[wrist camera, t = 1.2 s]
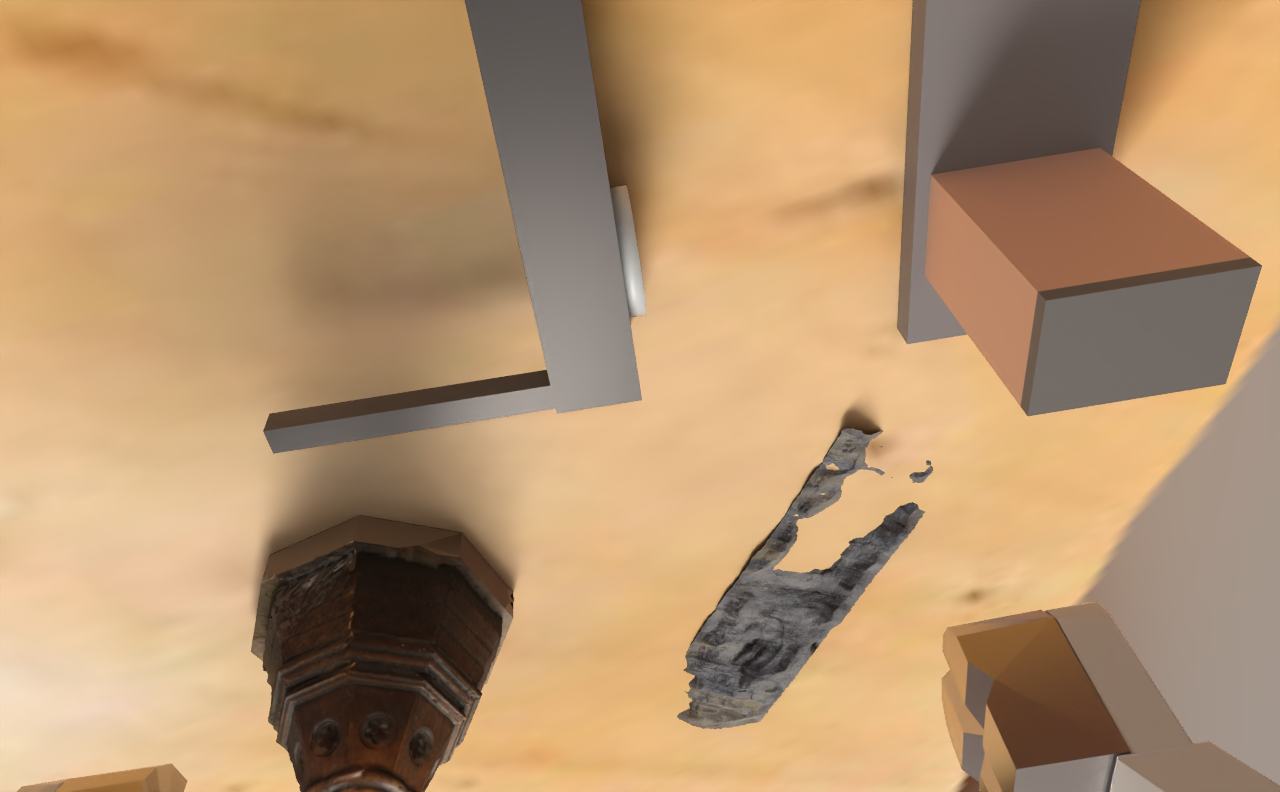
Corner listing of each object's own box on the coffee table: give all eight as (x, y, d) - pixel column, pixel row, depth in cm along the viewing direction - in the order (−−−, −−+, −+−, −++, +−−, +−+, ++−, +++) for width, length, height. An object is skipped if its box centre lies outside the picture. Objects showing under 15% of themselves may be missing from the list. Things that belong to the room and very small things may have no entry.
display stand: (897, 327, 38) (1000, 493, 29) (935, -477, 23) (1155, -584, 15) (1068, 300, 38) (1217, 457, 30) (1209, -518, 23) (1571, -646, 15)
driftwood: (743, 723, 53) (750, 757, 51) (633, 700, 51) (638, 735, 49) (964, 449, 43) (983, 480, 41) (840, 405, 41) (854, 435, 39)
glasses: (299, 377, 36) (271, 458, 32) (43, -238, 25) (-52, -230, 21) (644, 322, 36) (658, 397, 32) (554, -317, 25) (559, -324, 21)
